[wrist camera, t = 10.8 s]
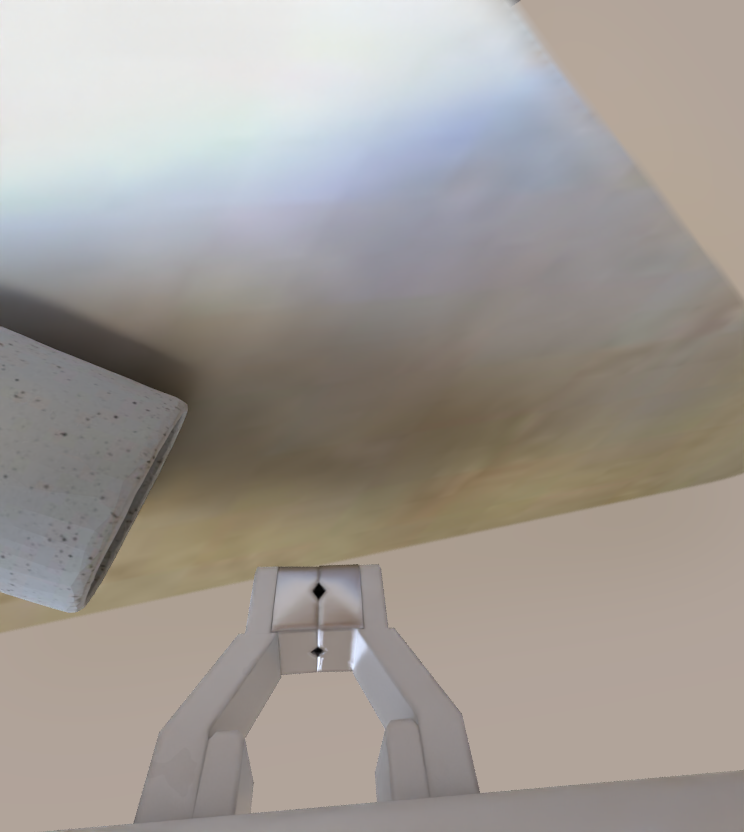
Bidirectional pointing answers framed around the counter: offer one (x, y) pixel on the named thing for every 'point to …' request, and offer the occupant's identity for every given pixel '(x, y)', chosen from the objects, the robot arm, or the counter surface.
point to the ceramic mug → (72, 468)
